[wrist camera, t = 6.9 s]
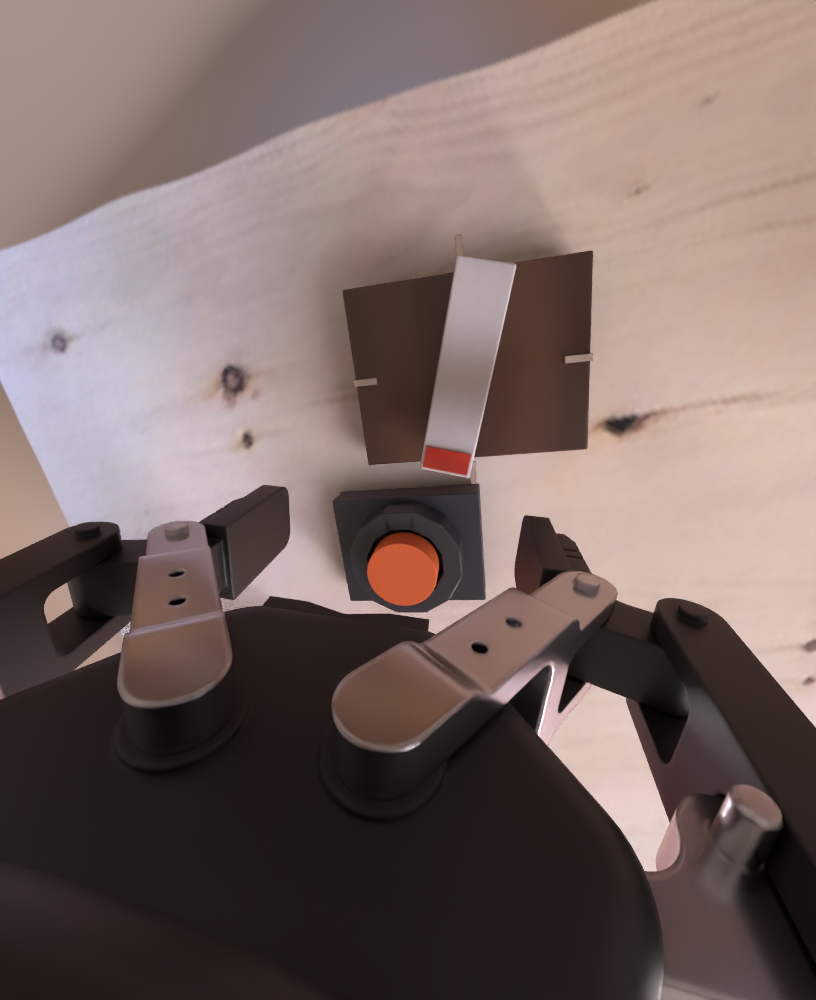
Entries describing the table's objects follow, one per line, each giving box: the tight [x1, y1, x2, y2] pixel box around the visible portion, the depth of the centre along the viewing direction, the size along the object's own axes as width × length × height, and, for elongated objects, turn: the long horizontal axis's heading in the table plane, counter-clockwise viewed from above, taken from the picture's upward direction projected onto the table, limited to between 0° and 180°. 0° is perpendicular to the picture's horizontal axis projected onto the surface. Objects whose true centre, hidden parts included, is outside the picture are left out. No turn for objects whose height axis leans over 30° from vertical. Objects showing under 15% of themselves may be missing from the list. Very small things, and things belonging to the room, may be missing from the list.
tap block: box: [343, 235, 593, 484], centre depth 24 cm, size 13×13×3 cm
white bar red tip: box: [420, 256, 516, 478], centre depth 20 cm, size 9×2×6 cm, turn 172°
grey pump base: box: [333, 484, 486, 612], centre depth 28 cm, size 10×8×4 cm
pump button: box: [367, 532, 439, 606], centre depth 26 cm, size 4×4×2 cm
